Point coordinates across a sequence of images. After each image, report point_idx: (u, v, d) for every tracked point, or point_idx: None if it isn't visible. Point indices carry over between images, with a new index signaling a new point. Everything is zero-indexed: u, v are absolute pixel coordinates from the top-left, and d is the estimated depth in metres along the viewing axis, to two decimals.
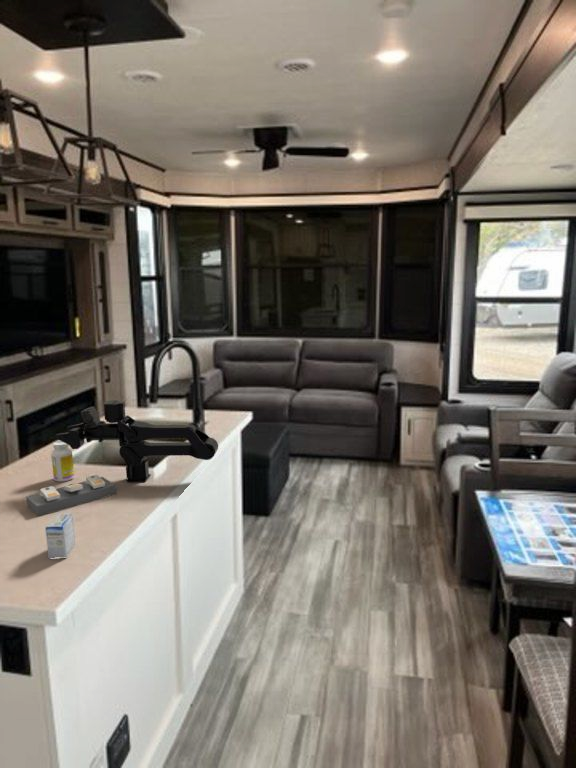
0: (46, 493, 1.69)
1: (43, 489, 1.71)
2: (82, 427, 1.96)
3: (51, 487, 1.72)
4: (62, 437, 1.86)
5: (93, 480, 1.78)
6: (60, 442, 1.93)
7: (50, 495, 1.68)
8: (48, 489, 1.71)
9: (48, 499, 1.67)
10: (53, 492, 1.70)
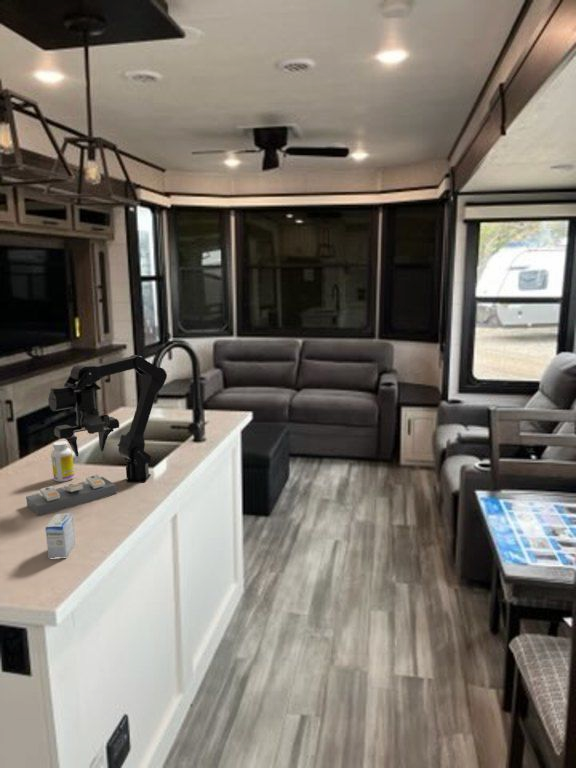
0: (46, 493, 1.69)
1: (43, 489, 1.71)
2: None
3: (51, 487, 1.72)
4: None
5: (93, 480, 1.78)
6: (60, 442, 1.93)
7: (50, 495, 1.68)
8: (48, 489, 1.71)
9: (48, 499, 1.67)
10: (53, 492, 1.70)
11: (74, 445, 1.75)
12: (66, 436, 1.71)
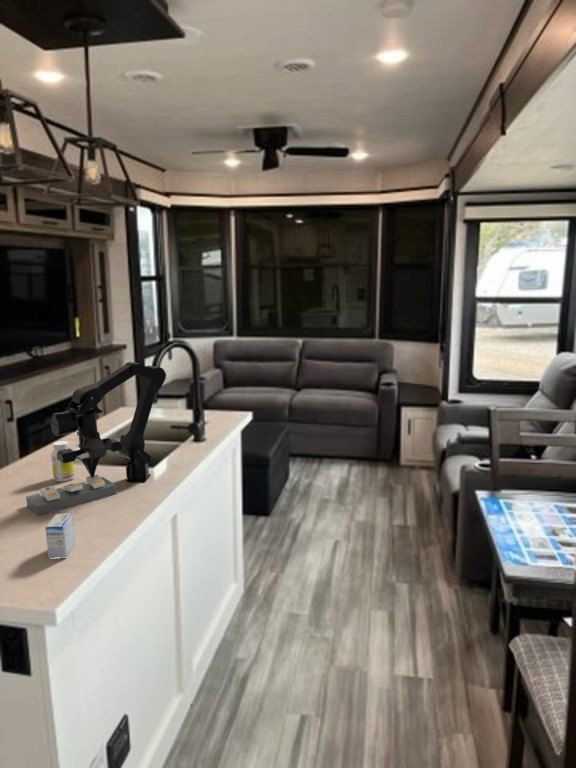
0: (46, 493, 1.69)
1: (43, 489, 1.71)
2: None
3: (51, 487, 1.72)
4: None
5: (93, 480, 1.78)
6: (60, 442, 1.93)
7: (50, 495, 1.68)
8: (48, 489, 1.71)
9: (48, 499, 1.67)
10: (53, 492, 1.70)
11: (89, 466, 1.78)
12: (69, 460, 1.72)
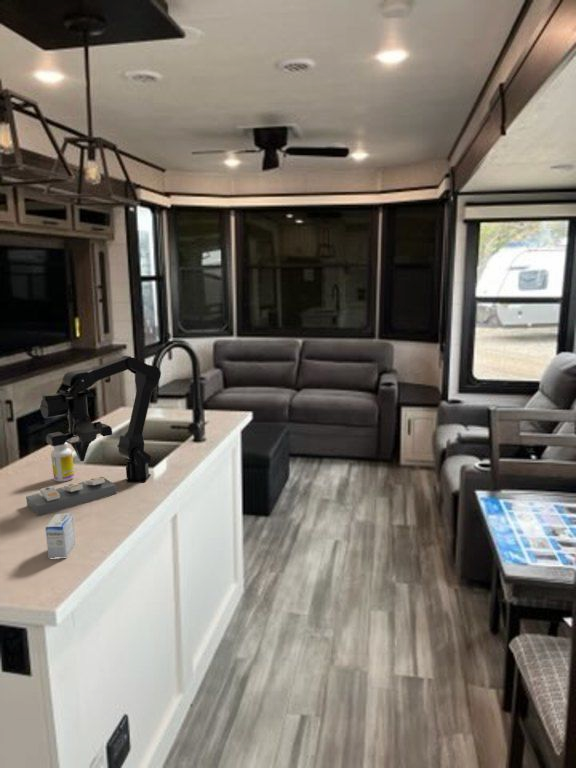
0: (46, 493, 1.69)
1: (43, 489, 1.71)
2: None
3: (51, 487, 1.72)
4: None
5: (93, 480, 1.79)
6: None
7: (50, 495, 1.68)
8: (48, 489, 1.71)
9: (48, 499, 1.67)
10: (53, 492, 1.70)
11: (78, 450, 1.76)
12: (58, 444, 1.69)
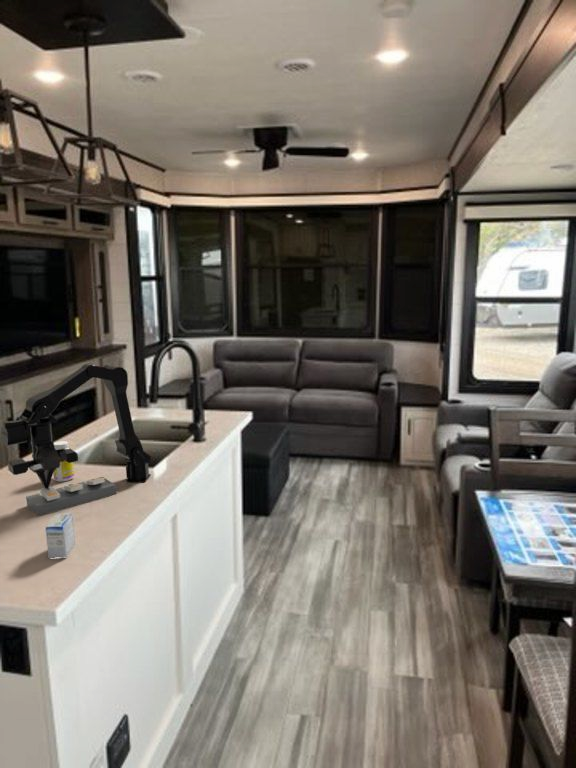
0: (46, 493, 1.69)
1: (43, 489, 1.71)
2: None
3: (51, 487, 1.72)
4: None
5: (93, 480, 1.79)
6: (60, 442, 1.93)
7: (50, 495, 1.68)
8: (48, 489, 1.71)
9: (48, 499, 1.67)
10: (53, 492, 1.70)
11: (42, 477, 1.70)
12: (20, 472, 1.64)
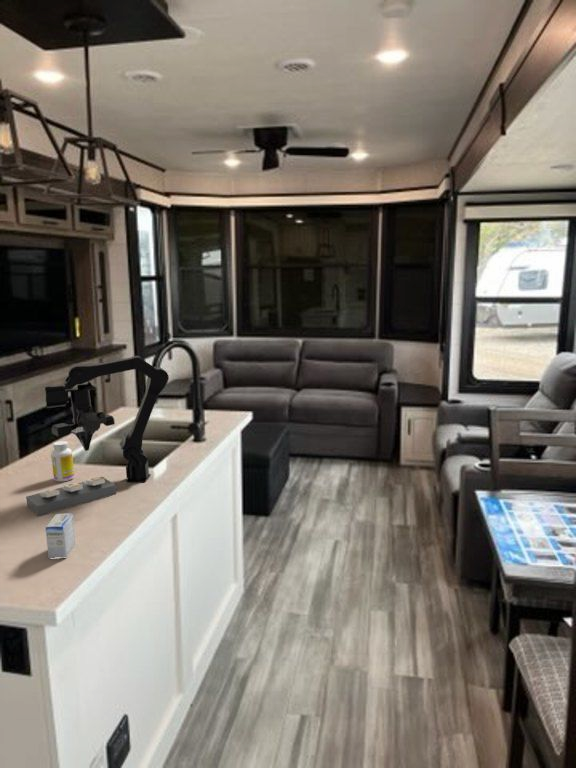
0: (46, 492, 1.69)
1: (43, 492, 1.71)
2: None
3: (51, 490, 1.73)
4: None
5: (93, 480, 1.79)
6: (60, 442, 1.93)
7: (49, 492, 1.68)
8: (48, 491, 1.71)
9: (48, 495, 1.67)
10: (53, 490, 1.70)
11: (83, 440, 1.83)
12: (64, 434, 1.76)
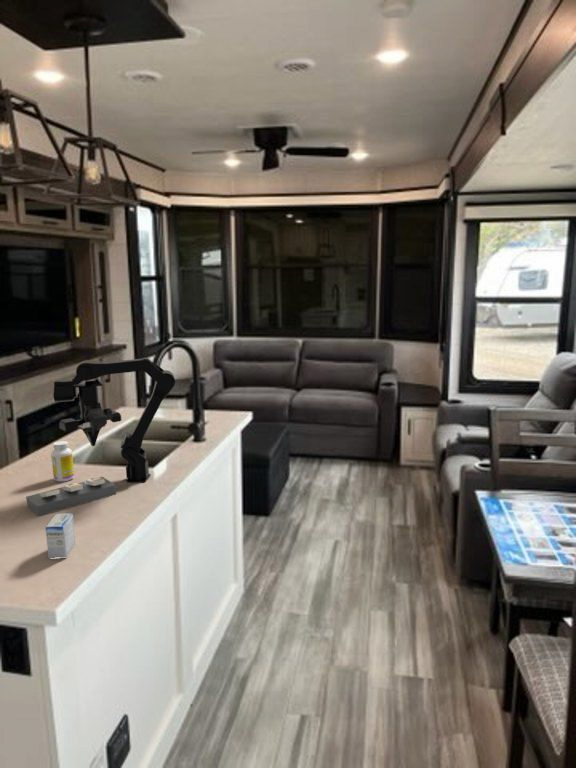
0: None
1: None
2: None
3: None
4: None
5: (93, 480, 1.79)
6: (60, 442, 1.93)
7: (49, 491, 1.68)
8: (48, 491, 1.71)
9: (47, 494, 1.67)
10: None
11: (90, 435, 1.85)
12: (71, 429, 1.79)
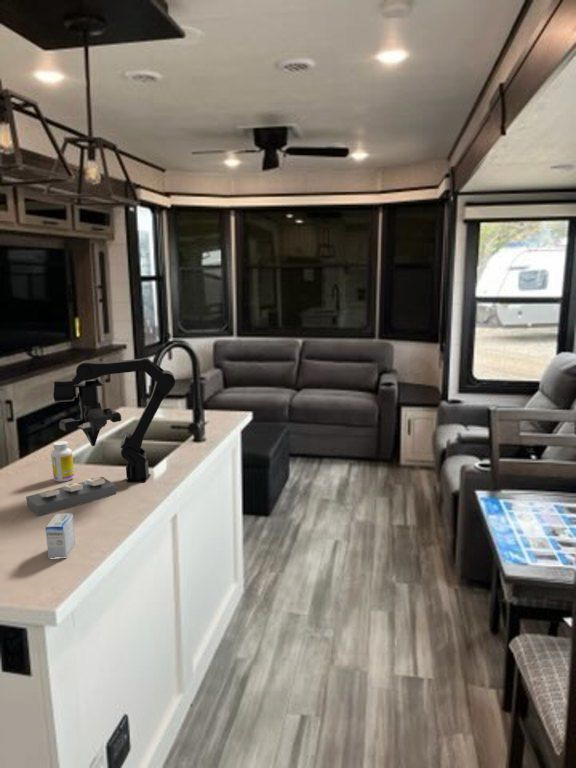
0: (46, 492, 1.69)
1: (43, 492, 1.71)
2: None
3: (51, 490, 1.73)
4: None
5: (93, 480, 1.79)
6: (60, 442, 1.93)
7: (49, 491, 1.68)
8: (48, 491, 1.71)
9: (47, 495, 1.67)
10: (52, 490, 1.70)
11: (90, 435, 1.85)
12: (71, 429, 1.79)
